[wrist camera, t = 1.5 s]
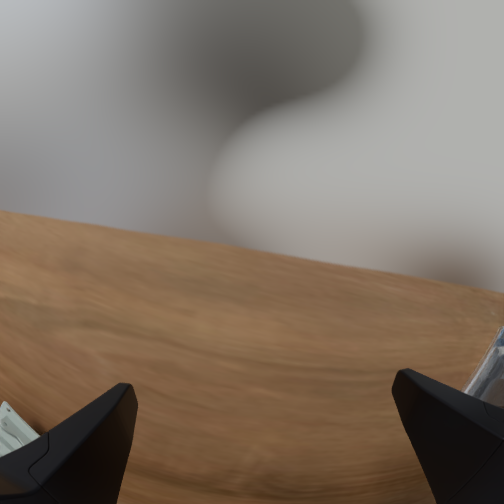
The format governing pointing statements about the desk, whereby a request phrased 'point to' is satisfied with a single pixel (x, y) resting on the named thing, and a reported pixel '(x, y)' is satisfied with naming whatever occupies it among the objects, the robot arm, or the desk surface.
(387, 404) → the desk surface
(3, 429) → the metal bracket
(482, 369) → the blue gray railed fixture
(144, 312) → the desk surface
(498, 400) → the tall gray pillar
